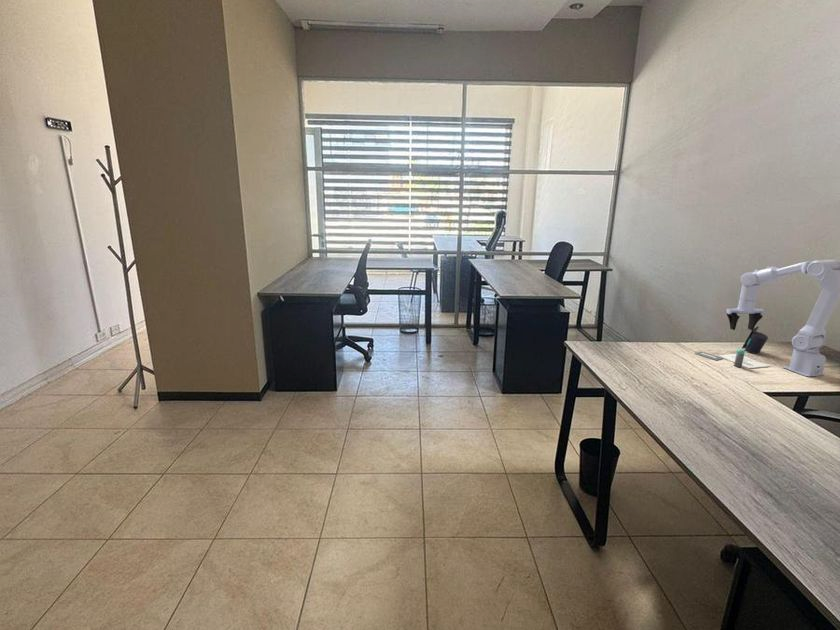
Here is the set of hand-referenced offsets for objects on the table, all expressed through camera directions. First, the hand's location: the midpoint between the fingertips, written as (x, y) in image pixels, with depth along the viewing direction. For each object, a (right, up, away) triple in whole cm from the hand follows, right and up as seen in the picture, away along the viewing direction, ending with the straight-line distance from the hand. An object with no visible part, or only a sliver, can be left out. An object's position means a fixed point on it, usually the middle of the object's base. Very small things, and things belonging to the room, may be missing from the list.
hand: (741, 329), depth 185 cm
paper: (-7, -13, -10) cm, 18 cm away
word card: (-17, -12, -4) cm, 21 cm away
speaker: (+6, -10, +1) cm, 12 cm away
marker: (-13, -15, -15) cm, 25 cm away
